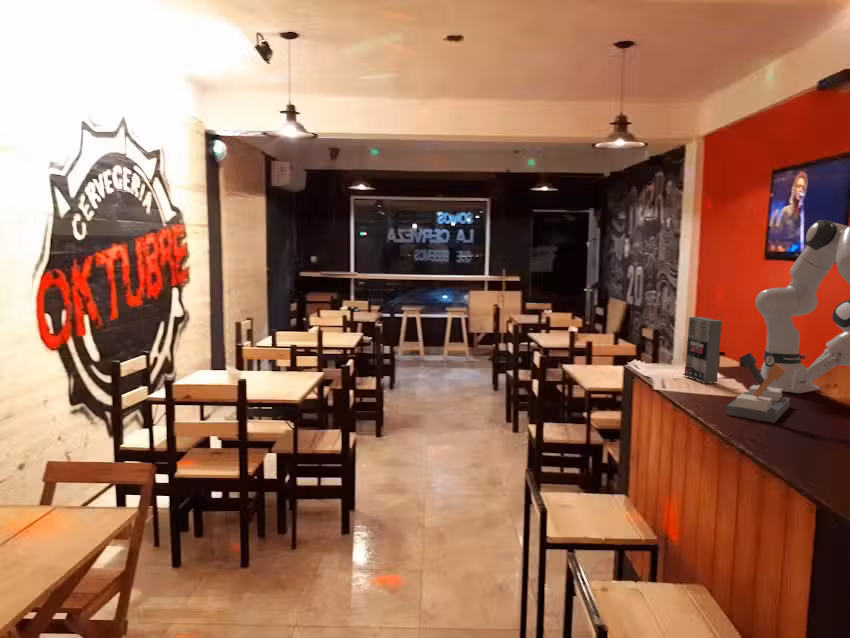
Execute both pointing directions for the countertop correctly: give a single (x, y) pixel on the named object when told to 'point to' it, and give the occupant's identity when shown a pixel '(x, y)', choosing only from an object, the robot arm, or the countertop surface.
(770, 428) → the countertop surface
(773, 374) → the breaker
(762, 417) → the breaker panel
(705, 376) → the cassette tape recorder
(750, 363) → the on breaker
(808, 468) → the countertop surface
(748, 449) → the countertop surface
